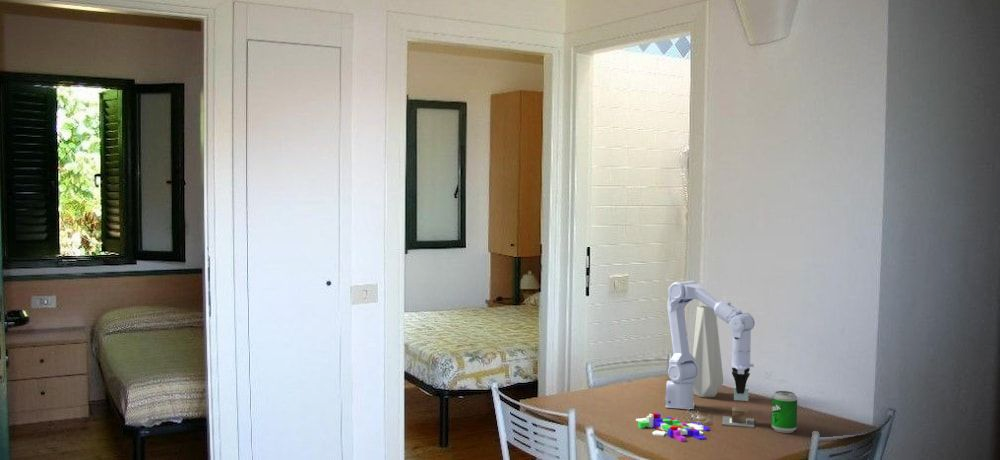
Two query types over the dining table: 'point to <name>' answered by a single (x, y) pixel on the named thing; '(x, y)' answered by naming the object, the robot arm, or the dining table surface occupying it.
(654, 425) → the building block set
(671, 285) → the robot arm
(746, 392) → the pale grey cube
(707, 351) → the vase
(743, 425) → the grey flat square plate
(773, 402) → the soda can
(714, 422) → the dining table surface
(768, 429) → the dining table surface
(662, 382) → the dining table surface
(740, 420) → the walnut block
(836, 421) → the dining table surface
